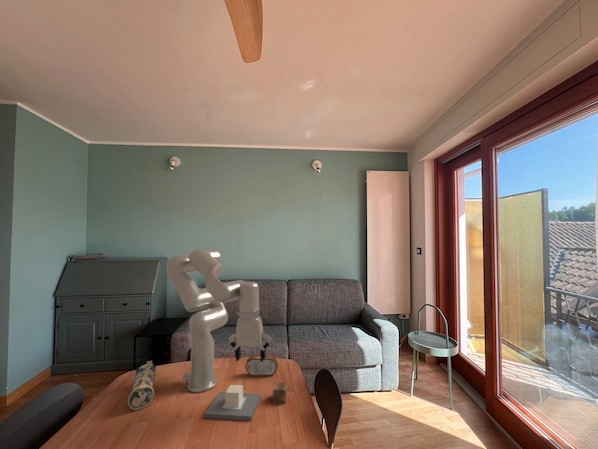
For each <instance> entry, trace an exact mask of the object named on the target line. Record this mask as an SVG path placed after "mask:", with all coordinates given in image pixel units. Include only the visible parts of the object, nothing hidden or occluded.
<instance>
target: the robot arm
mask: <svg viewBox="0 0 598 449" xmlns="http://www.w3.org/2000/svg"><path fill="white" fill-rule="evenodd" d="M221 259H222V256H221V252H220V251H218V249H216V248H198V249H194V250H193V251H191V252H190V253H189V254H179V255H178V254H177V255H175V256H172V257H171V258H169V259H168V261H167V263H166V272H167V276H168V278H169V281H171V283H172V284H173V286H174V287H175V289H176V291H177V292H178V295H179V298H180V300H181V302H182V305H183V306H184V308H185V310H186V311H187V312H189V313H193V312H195V313H194V314H192V315H191V316H190V318H189V321H188V322H189V323H188V326H189V331H190V342H191V343H190V344H191V345H190V350H191V352H190V353H191V354H190V372H184V373H183V374H182V381H187V383H186V389H187V390H188V391H189V392H191V393H203V392H207V391H209V390H211V389H213V388H214V387H216V386H217V384H218V380H219V379H218V377H217V376H216V375H215V339H214V337H213V336H212V334H211V332H213V331H214V330H216V329H219V328H222V327H223V326H225V325H226V324H227V323H228V319H229V314H228V311H227V309H226V307H225V305H224V303H225V304H226V303H229V302H233V301H236V300H239V310H237V311H236V314H235V315H237V316H239V317H238V318H237V319H236V328H235V333H234V334H232V335H230V336H229V337H228V338H227V339H228V341H229V343H230V346H231V347H232V348H233V350H234V358H235V362H238V361H240V359H241V357H242V351H241V347H246V348H248V347H249V348H250V347H251V348H253V347H254V348H256V347H257V348H258V347H259V349H260V352H259V353H260V354H259V356H260V361H261V362H263V360H264V359H265V357H266V356H267V354H266V350H267V348H268V347H269V346H270V344H271V341H272V340H273V337H272V336H270V335H268V334H267V333H265V332H264V326H263V321H262V318H261V316H260V291H259V290H260V289H259V284H258V282H256V281H246V280H242V279H237V280H233V281H232V280H231V281H227V282H222V281H221V280H220V279H218V278H219V277H220V276H221V275H222V273H223V269H224V267H223V265H222V263H221ZM191 272H199V273H200V274H201V275H202V276H203V277H204V278H205V279H204V283H205V287H204V288H199V286H198V285H197V282H196V281H195V279H194V278H193V277H192V276H190V275H189V274H187V273H191ZM197 311H198V312H197ZM234 339H235V340H234ZM264 339H265V340H266V342H264Z"/></svg>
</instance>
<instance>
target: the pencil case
mask: <svg viewBox="0 0 598 449" xmlns="http://www.w3.org/2000/svg"><path fill="white" fill-rule="evenodd" d="M157 369H158V368H157V367H156V365H154V364H153V360H148V361H146V363H145V364H143V365H141V366H140V367H139V366H138V367H137V368H136V370H135V372H134V376H133V382H132V388H131V391H130V393H129V395H128V396H127V405H128V406H129V408H130V409H131V410H133V411H140V410H141V409H143V408H145V407H147V406H148V405H149V404H150V403H151V402H152V400H153V399H154V396H155V390H154V381H155V377H156V375H157Z"/></svg>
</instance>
